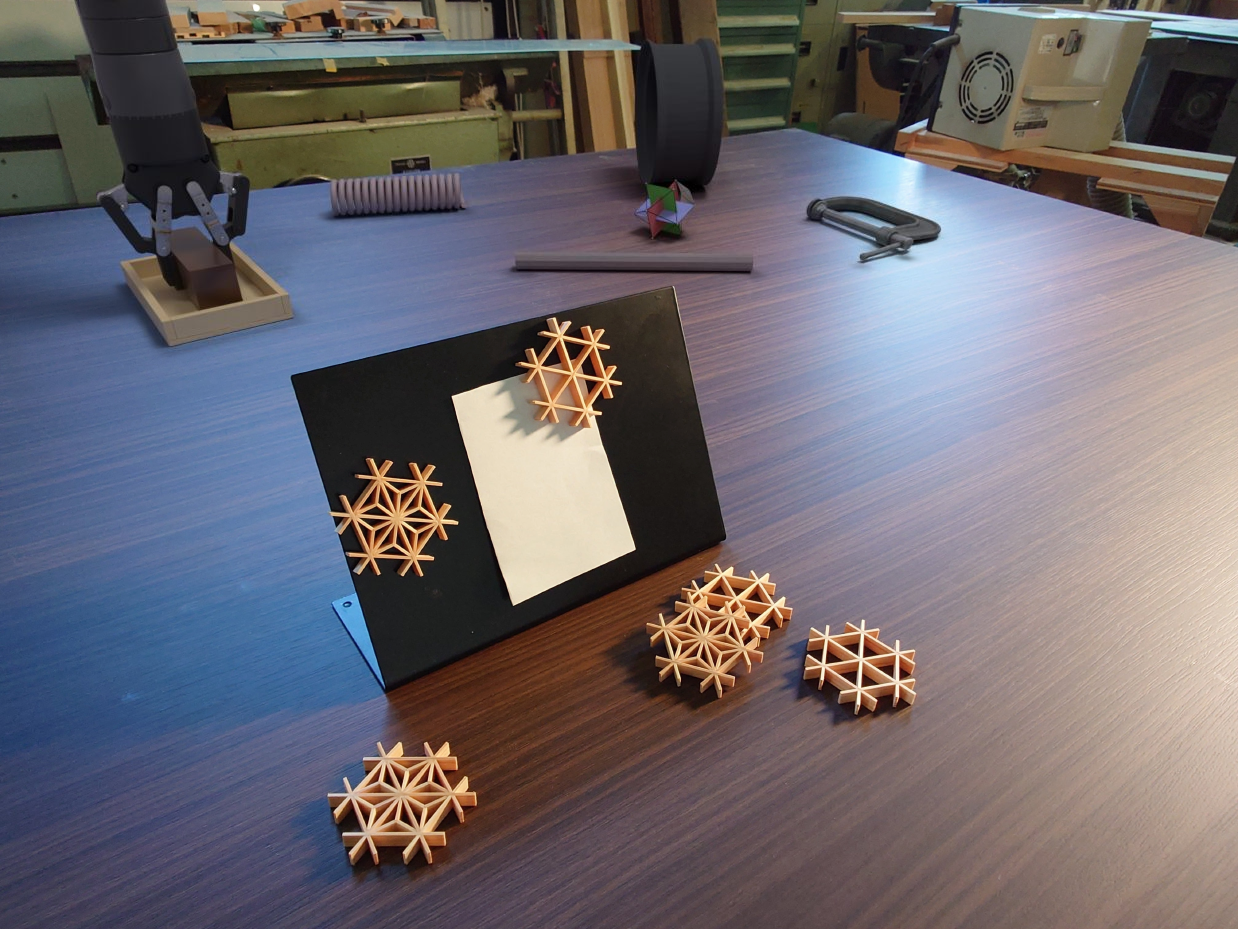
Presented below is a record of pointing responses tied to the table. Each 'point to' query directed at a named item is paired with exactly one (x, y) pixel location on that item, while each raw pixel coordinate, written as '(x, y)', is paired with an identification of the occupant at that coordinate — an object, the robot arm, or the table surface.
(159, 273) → the tray
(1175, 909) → the table surface
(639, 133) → the wheel rim
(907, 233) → the c clamp
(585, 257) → the metal rod
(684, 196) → the geometric puzzle
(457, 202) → the coil
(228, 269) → the block
